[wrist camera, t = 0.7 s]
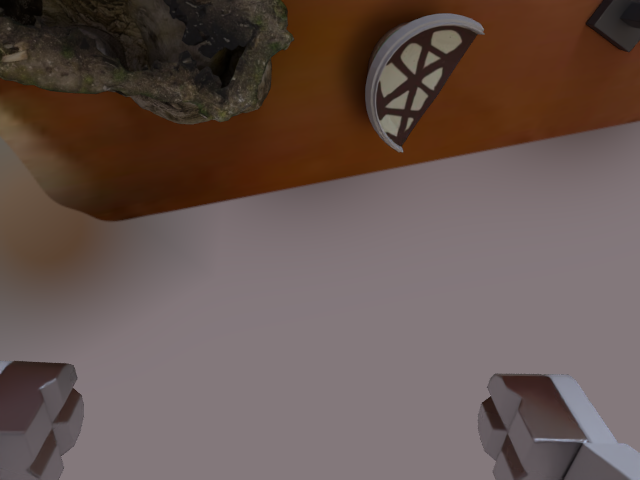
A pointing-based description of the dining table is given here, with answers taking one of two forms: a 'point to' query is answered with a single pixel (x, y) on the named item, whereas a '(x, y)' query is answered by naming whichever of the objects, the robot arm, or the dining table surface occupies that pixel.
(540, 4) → the dining table surface
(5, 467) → the robot arm
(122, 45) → the hollow geode rock
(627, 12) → the black hanger
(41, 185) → the dining table surface
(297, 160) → the dining table surface
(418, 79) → the food container
